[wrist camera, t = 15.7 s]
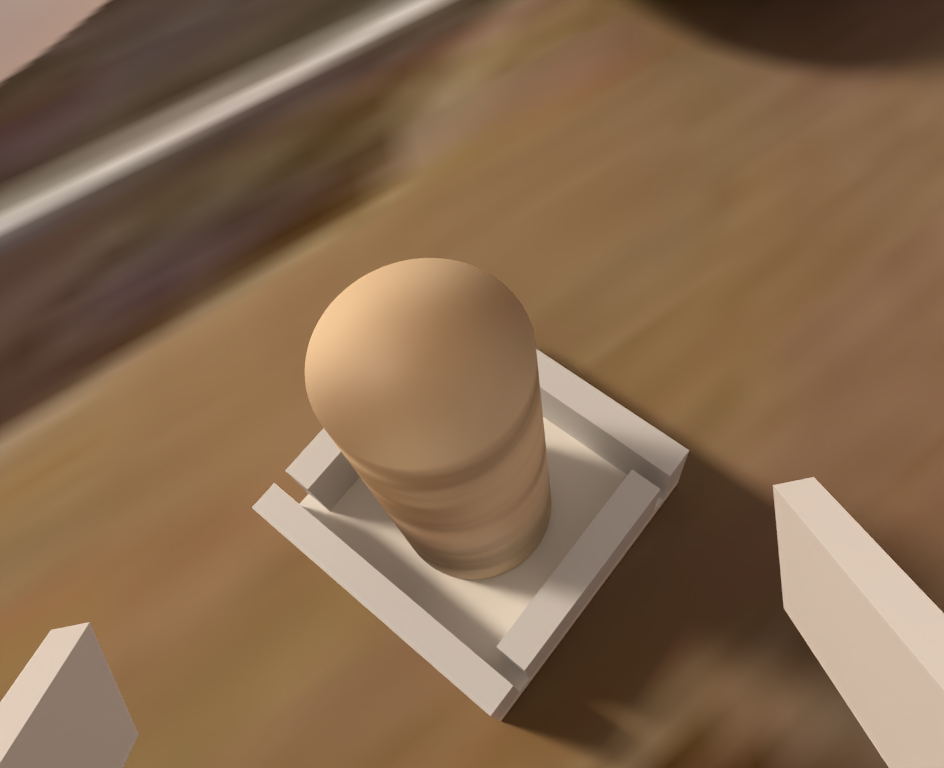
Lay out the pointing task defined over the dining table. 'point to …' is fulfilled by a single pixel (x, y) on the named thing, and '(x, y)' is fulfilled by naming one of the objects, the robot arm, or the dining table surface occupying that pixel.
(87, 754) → the robot arm
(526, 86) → the dining table surface
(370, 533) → the square tray
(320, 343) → the oak rail post
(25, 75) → the dining table surface
